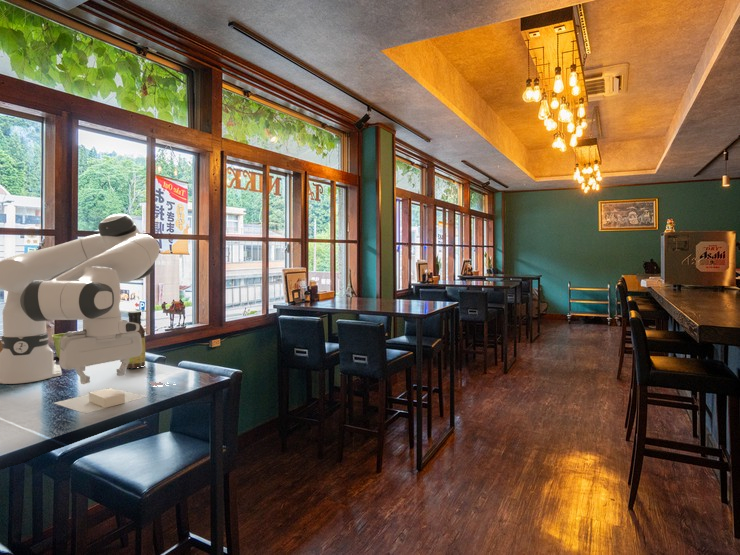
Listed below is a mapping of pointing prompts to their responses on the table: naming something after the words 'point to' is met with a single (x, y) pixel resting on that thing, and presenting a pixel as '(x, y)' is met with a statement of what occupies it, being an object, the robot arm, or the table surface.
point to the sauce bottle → (136, 318)
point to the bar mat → (87, 407)
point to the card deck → (106, 397)
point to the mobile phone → (157, 384)
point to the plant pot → (57, 342)
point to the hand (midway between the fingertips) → (103, 379)
